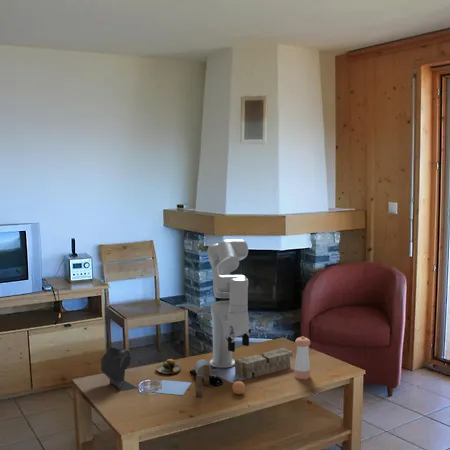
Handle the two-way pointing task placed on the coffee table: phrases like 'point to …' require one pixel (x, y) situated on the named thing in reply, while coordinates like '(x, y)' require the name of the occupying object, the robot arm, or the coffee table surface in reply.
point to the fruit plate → (169, 367)
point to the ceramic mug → (200, 370)
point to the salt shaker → (302, 358)
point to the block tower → (263, 363)
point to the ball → (238, 387)
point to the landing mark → (174, 387)
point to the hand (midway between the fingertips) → (238, 348)
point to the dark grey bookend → (117, 367)
